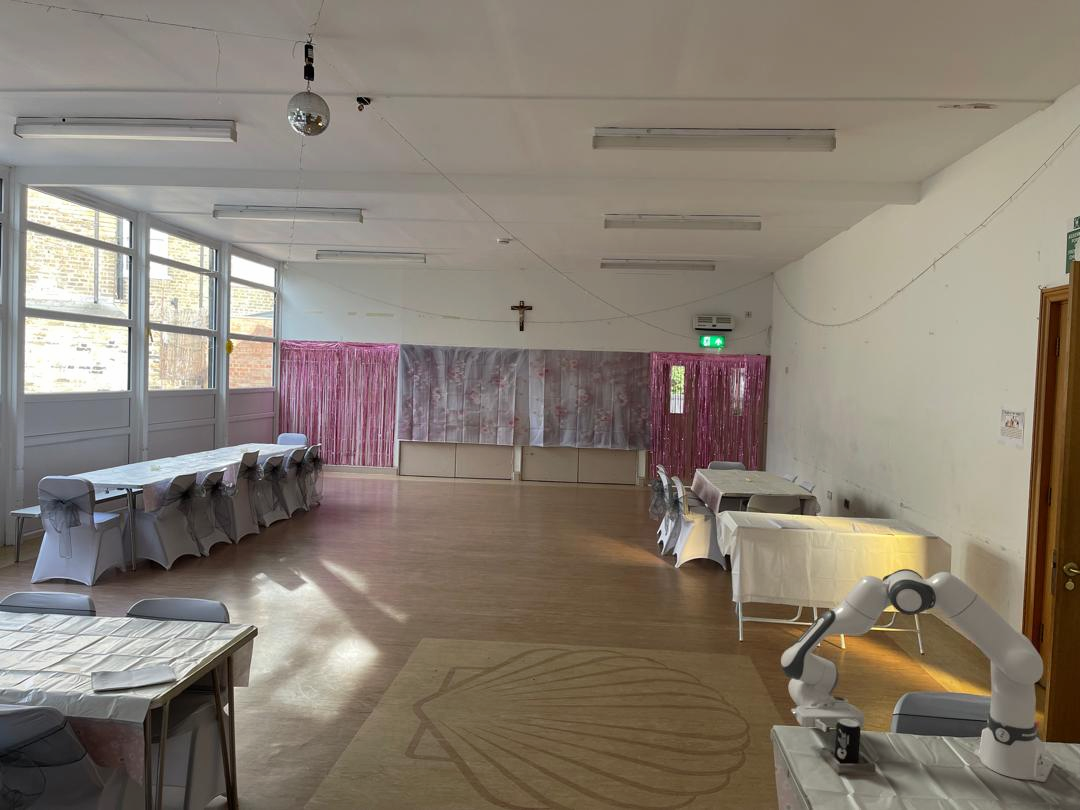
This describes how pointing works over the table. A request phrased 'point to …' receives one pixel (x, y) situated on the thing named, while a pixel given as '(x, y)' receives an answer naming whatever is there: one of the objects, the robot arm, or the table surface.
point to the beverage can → (847, 741)
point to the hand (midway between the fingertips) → (842, 729)
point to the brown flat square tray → (861, 768)
